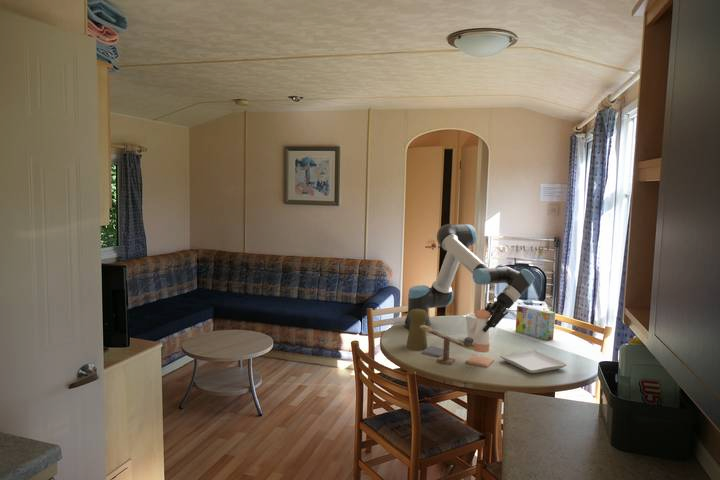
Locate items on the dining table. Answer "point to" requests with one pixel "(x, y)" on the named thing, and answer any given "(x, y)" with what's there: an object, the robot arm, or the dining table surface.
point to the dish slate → (433, 351)
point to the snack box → (535, 322)
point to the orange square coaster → (480, 360)
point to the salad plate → (533, 361)
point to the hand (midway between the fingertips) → (474, 334)
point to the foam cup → (470, 324)
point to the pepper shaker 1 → (417, 330)
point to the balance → (447, 340)
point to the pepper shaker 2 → (482, 318)
